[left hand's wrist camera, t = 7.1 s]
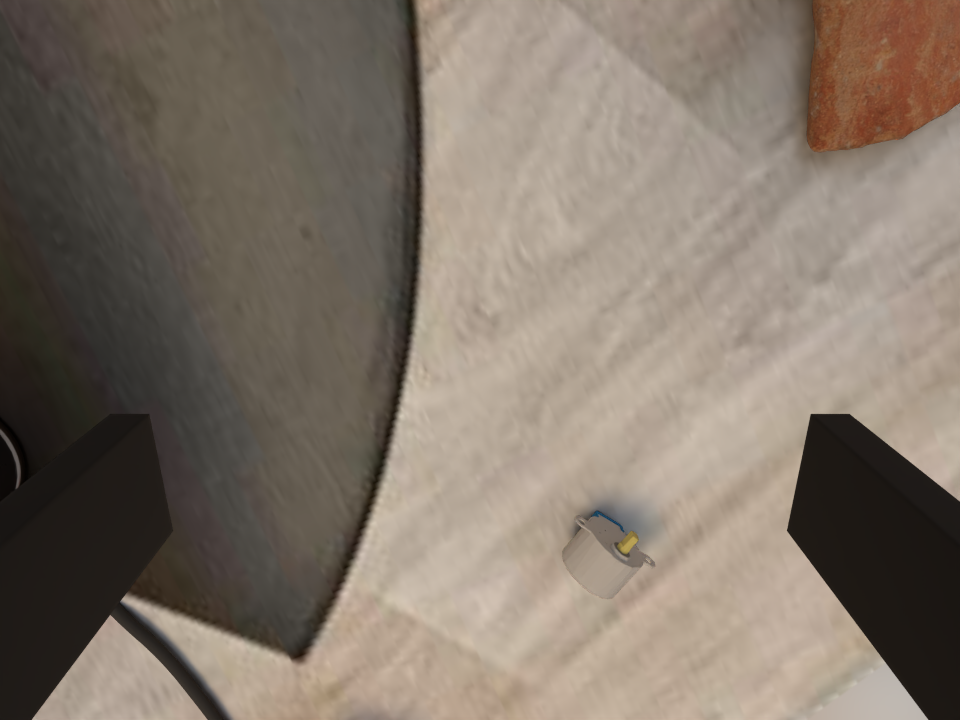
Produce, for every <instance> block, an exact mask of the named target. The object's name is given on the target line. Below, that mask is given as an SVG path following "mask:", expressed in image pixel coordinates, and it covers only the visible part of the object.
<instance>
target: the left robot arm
mask: <svg viewBox="0 0 960 720" xmlns="http://www.w3.org/2000/svg"><path fill="white" fill-rule="evenodd" d="M172 531H173V529H172V524H171V519H170V514H169V509H168V504H167V499H166V494H165V489H164V484H163V480H162V475H161V470H160V465H159V460H158V455H157V450H156V445H155V440H154V435H153V431H152V426H151V421H150V416H149V414H110V415H109V416H107V417H106V418H105V419H104V420H102V421H101V422H100V423H99V424H97V425H96V426H95V427H94V428H92V429H91V430H90V431H89V432H87V433H86V434H85V435H84V436H82V437H81V438H80V439H78V440H77V441H76V442H75V443H73V444H72V445H71V446H70V447H68V448H67V449H66V450H65V451H63V452H62V453H61V454H60V455H58V456H57V457H56V458H55V459H53V460H52V461H51V462H50V463H48V464H47V465H46V466H44V467H43V468H42V469H41V470H39V471H38V472H37V473H36V474H34V475H33V476H32V477H31V478H29V479H28V480H27V481H26V482H24V483H23V484H22V485H21V486H19V487H18V488H17V489H15V490H14V491H13V492H12V493H10V494H9V495H8V496H7V497H5V498H4V499H3V500H2V501H0V720H32V718H33V717H34V716H35V714H36V713H37V712H38V710H39V709H40V708H41V706H42V705H43V704H44V702H45V701H46V700H47V698H48V697H49V696H50V694H51V693H52V692H53V690H54V689H55V688H56V686H57V685H58V684H59V682H60V681H61V680H62V678H63V677H64V676H65V674H66V673H67V672H68V670H69V669H70V668H71V666H72V665H73V664H74V662H75V661H76V660H77V658H78V657H79V656H80V654H81V653H82V652H83V650H84V649H85V648H86V646H87V645H88V644H89V642H90V641H91V640H92V638H93V637H94V636H95V634H96V633H97V632H98V630H99V629H100V628H101V626H102V625H103V624H104V622H105V621H106V620H107V618H108V617H109V616H110V614H111V613H112V612H113V610H114V609H115V608H116V606H117V605H118V604H119V602H120V601H121V600H122V598H123V597H124V596H125V594H126V593H127V592H128V590H129V589H130V588H131V586H132V585H133V584H134V582H135V581H136V580H137V578H138V577H139V576H140V574H141V573H142V572H143V570H144V569H145V568H146V566H147V565H148V564H149V562H150V561H151V559H152V558H153V557H154V555H155V554H156V553H157V551H158V550H159V549H160V547H161V546H162V545H163V543H164V542H165V541H166V539H167V538H168V537H169V535H170V534H171V533H172ZM787 531H788V533H789V534H790V535H791V537H792V538H793V539H794V541H795V542H796V543H797V545H798V546H799V547H800V549H801V550H802V551H803V553H804V554H805V555H806V557H807V558H808V559H809V561H810V562H811V564H812V565H813V566H814V568H815V569H816V570H817V572H818V573H819V574H820V576H821V577H822V578H823V580H824V581H825V582H826V584H827V585H828V586H829V588H830V589H831V590H832V592H833V593H834V594H835V596H836V597H837V598H838V600H839V601H840V602H841V604H842V605H843V606H844V608H845V609H846V610H847V612H848V613H849V614H850V616H851V617H852V618H853V620H854V621H855V622H856V624H857V625H858V626H859V628H860V629H861V630H862V632H863V633H864V634H865V636H866V637H867V638H868V640H869V641H870V642H871V644H872V645H873V646H874V648H875V649H876V650H877V652H878V653H879V654H880V656H881V657H882V658H883V660H884V661H885V662H886V664H887V665H888V666H889V668H890V669H891V670H892V672H893V673H894V674H895V676H896V677H897V678H898V680H899V681H900V682H901V684H902V685H903V686H904V688H905V689H906V690H907V692H908V693H909V694H910V696H911V697H912V698H913V700H914V701H915V702H916V704H917V705H918V706H919V708H920V709H921V710H922V712H923V713H924V714H925V716H926V717H927V718H928V720H960V501H958V500H957V499H956V498H955V497H953V496H952V495H951V494H950V493H948V492H947V491H946V490H944V489H943V488H942V487H941V486H939V485H938V484H937V483H936V482H934V481H933V480H932V479H931V478H929V477H928V476H927V475H926V474H924V473H923V472H922V471H921V470H919V469H918V468H917V467H916V466H914V465H913V464H912V463H910V462H909V461H908V460H907V459H905V458H904V457H903V456H902V455H900V454H899V453H898V452H897V451H895V450H894V449H893V448H892V447H890V446H889V445H888V444H887V443H885V442H884V441H883V440H882V439H880V438H879V437H878V436H876V435H875V434H874V433H873V432H871V431H870V430H869V429H868V428H866V427H865V426H864V425H863V424H861V423H860V422H859V421H858V420H856V419H855V418H854V417H853V416H851V415H850V414H811V416H810V421H809V426H808V431H807V435H806V440H805V445H804V450H803V455H802V460H801V465H800V470H799V475H798V480H797V484H796V489H795V494H794V499H793V504H792V509H791V514H790V519H789V524H788V529H787Z"/></svg>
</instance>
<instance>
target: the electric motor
mask: <svg viewBox="0 0 960 720" xmlns="http://www.w3.org/2000/svg"><path fill="white" fill-rule="evenodd" d="M579 520H581V521H582V522H584V524H582V523H581V522H580V521H579ZM575 521H576V523H577V524H578V525H579V526H580V527H582V528H581V529H580V530H579V531H578V533H577V534H576V535H575V536H574V537H573V539H572V540H571V541H570V542H569V543H568V545H567V546H566V547H565V548H564V550H563V551H562V557H563V561H564V564H565V566H566V568H567V570H568V571H569V572H570V574H571V575H572V577H573V578H574V579H575V580H576V581H577V582H578V583H579V584H580V585H581V586H582V587H583V588H585V589H586V590H587V591H589V592H590V593H592V594H594V595H595V596H597V597H600V598H603V599H612V598H613V597H614V596H615V595H616V594H617V593H618V592H619V590H620V589H621V588H622V587H623V586H624V585H625V584H626V583H627V582H628V581H629V580H630V578H631V577H632V576H633V575H634V574H635V573H636V572H637V571H638V570H639V569H640V568H641V567H642V565H643V564H645V565H647V566H649V567H651V568H654V567H655V562H654V561H653V560H652V559H651V558H650V557H649V556H647V555H646V554H644V553H642V552H640V551H639V549H638V548H637V546H636V545H635V544H636V542H637V541H638V540H639V539H638V536H637V534H636V533H635V532H633V531H631V532H630V533H629V534H628V535H626V534H625V533H624V530H623V527H622V526H621V525H620V524H619V523H617V522H615V521H613V520H612V519H610V518H608V517H607V516H605V515H603V514H602V513H600V512H598V511H596V512H595V513H594V514H593V515H592V517H590V518H589V520H588V521H587V520H585V519H584V518H582V517H581V516H575ZM645 558H646V559H648V560H649V561H650V563H649V562H648V561H647V560H646V559H645Z"/></svg>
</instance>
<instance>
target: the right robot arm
mask: <svg viewBox="0 0 960 720" xmlns="http://www.w3.org/2000/svg"><path fill="white" fill-rule="evenodd" d="M25 472H26V469H25V461H24V457H23V453H22V451H21V448H20V446H19V444H18V442H17V441H16V439H15V437H14V436H13V435H12V433H11V432H10V431H9V429H8V428H7V427H6V426H5V425H4V424H3V423H2V422H1V421H0V501H2V500H3V499H4V498H5V497H7V496H8V495H9V494H10V493H12V492H13V491H14V490H15V489H17V488H18V487H19V486H21V485H22V484H23V483H24V481H25ZM110 615H111V616H112V617H113V618H114V619H115V620H116V621H117V622H118V623H119V624H120V625H121V626H123V627H124V628H125V629H126V630H127V631H128V632H129V633H130V634H131V635H132V636H134V637H135V638H136V639H137V640H138V641H139V642H140V643H142V644H143V645H144V646H145V647H146V648H147V649H148V650H149V651H150V652H151V653H152V654H153V655H154V656H155V657H156V658H157V659H158V660H159V661H160V662H161V663H162V664H163V665H164V666H165V667H166V668H167V669H168V671H169V672H170V673H171V674H172V675H173V676H174V678H175V679H176V680H177V681H178V682H179V684H180V685H181V686H182V687H183V689H184V690H185V691H186V692H187V694H188V695H189V696H190V697H191V699H192V700H193V701H194V703H195V704H196V705H197V706H198V708H199V709H200V710H201V711H202V713H203V714H204V715H205V717H206V718H207V719H208V720H224V719H223V718H222V717H221V715H220V714H219V712H218V711H217V710H216V708H215V707H214V706H213V704H212V703H211V702H210V700H209V699H208V698H207V696H206V695H205V694H204V692H203V691H202V690H201V689H200V687H199V686H198V685H197V683H196V682H195V681H194V680H193V678H192V677H191V676H190V675H189V673H188V672H187V671H186V670H185V668H184V667H183V666H182V665H181V664H180V662H179V661H178V660H177V659H176V658H175V657H174V655H173V654H172V653H171V652H170V651H169V650H168V649H167V648H166V647H165V646H164V645H163V644H162V643H161V642H160V641H159V640H158V639H157V638H156V637H155V636H154V635H153V634H151V633H150V632H149V631H148V630H147V629H146V628H145V627H144V626H142V625H141V624H140V623H139V622H138V621H137V620H136V619H135V618H134V617H133V616H132V615H131V614H129V613H128V612H127V611H126V610H125V609H124V608H123V607H122V606H121V605H120V604H118V605H117V606H116V608H115V609H114V610H113V612H112V613H111V614H110Z"/></svg>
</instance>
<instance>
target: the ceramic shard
mask: <svg viewBox="0 0 960 720" xmlns="http://www.w3.org/2000/svg"><path fill="white" fill-rule="evenodd" d="M812 12H813V18H814V28H815V41H814V54H813V57H812V62H811V75H810V87H809V100H808V103H809V106H808V118H807V140H808V144H809V146H810V148H811V149H812V150H813V151H815V152H826V151H836V150H849V149H853V148H862V147H864V146H866V145H869V144H873V143H879V142H884V141H889V140H899V139H903V138H904V137H905V136H907V135H908V134H910V133H911V132H912V131H914V130H917V129H919V128H921V127H922V126H924V125H925V124H927V123H928V122H930V121H932V120H934V119H936V118H938V117H940V116H942V115H944V114H945V113H947V112H948V111H949V110H951V109H952V108H953V107H954V106H956V105H957V104H959V103H960V0H813V3H812Z"/></svg>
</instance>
